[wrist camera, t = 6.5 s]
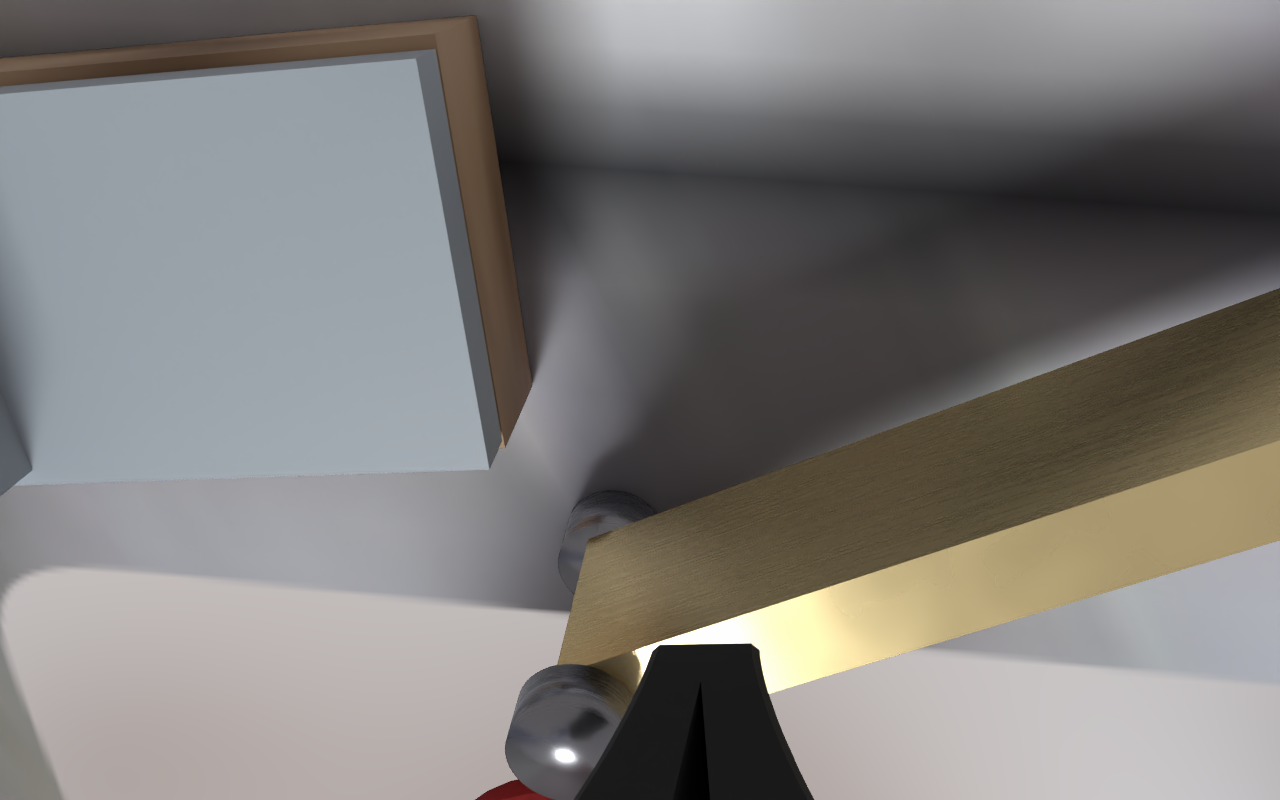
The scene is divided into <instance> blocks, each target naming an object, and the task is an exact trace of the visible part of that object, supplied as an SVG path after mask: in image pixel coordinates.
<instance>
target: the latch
mask: <svg viewBox="0 0 1280 800" xmlns="http://www.w3.org/2000/svg"><path fill="white" fill-rule="evenodd" d="M1279 540H1280V288H1279V289H1276V290H1273V291H1271V292H1268V293H1265V294H1262V295H1260V296H1257V297H1254V298H1251V299H1249V300H1246V301H1243V302H1240V303H1238V304H1235V305H1232V306H1229V307H1227V308H1224V309H1221V310H1218V311H1216V312H1213V313H1210V314H1207V315H1205V316H1202V317H1199V318H1196V319H1193V320H1191V321H1188V322H1185V323H1182V324H1180V325H1177V326H1174V327H1171V328H1169V329H1166V330H1163V331H1160V332H1158V333H1155V334H1152V335H1149V336H1147V337H1144V338H1141V339H1138V340H1136V341H1133V342H1130V343H1127V344H1125V345H1122V346H1119V347H1116V348H1114V349H1111V350H1108V351H1105V352H1103V353H1100V354H1097V355H1094V356H1091V357H1089V358H1086V359H1083V360H1080V361H1078V362H1075V363H1072V364H1069V365H1067V366H1064V367H1061V368H1058V369H1056V370H1053V371H1050V372H1047V373H1045V374H1042V375H1039V376H1036V377H1034V378H1031V379H1028V380H1025V381H1023V382H1020V383H1017V384H1014V385H1012V386H1009V387H1006V388H1003V389H1000V390H998V391H995V392H992V393H989V394H987V395H984V396H981V397H978V398H976V399H973V400H970V401H967V402H965V403H962V404H959V405H956V406H954V407H951V408H948V409H945V410H943V411H940V412H937V413H934V414H932V415H929V416H926V417H923V418H921V419H918V420H915V421H912V422H909V423H907V424H904V425H901V426H898V427H896V428H893V429H890V430H887V431H885V432H882V433H879V434H876V435H874V436H871V437H868V438H865V439H863V440H860V441H857V442H854V443H852V444H849V445H846V446H843V447H841V448H838V449H835V450H832V451H830V452H827V453H824V454H821V455H818V456H816V457H813V458H810V459H807V460H805V461H802V462H799V463H796V464H794V465H791V466H788V467H785V468H783V469H780V470H777V471H774V472H772V473H769V474H766V475H763V476H761V477H758V478H755V479H752V480H750V481H747V482H744V483H741V484H739V485H736V486H733V487H730V488H727V489H725V490H722V491H719V492H716V493H714V494H711V495H708V496H705V497H703V498H700V499H697V500H694V501H692V502H689V503H686V504H683V505H681V506H678V507H675V508H672V509H670V510H667V511H664V512H661V513H659V514H656V515H653V516H650V517H648V518H645V519H642V520H639V521H637V522H634V523H631V524H628V525H625V526H623V527H620V528H617V529H614V530H612V531H609V532H606V533H603V534H601V535H598V536H595V537H592V538H590V539H588V542H587V546H586V551H585V555H584V559H583V563H582V567H581V571H580V575H579V579H578V583H577V587H576V591H575V595H574V599H573V603H572V607H571V611H570V616H569V620H568V624H567V628H566V632H565V636H564V640H563V644H562V648H561V652H560V656H559V660H558V664H557V665H556V666H552V667H548V668H546V669H543V670H541V671H539V672H537V673H536V674H535V675H533V676H532V677H530V679H529V680H528V681H527V682H526V683H525V684H524V686H523V687H522V689H521V691H520V694H519V698H518V701H517V704H516V708H515V711H514V715H513V718H512V722H511V725H510V729H509V732H508V736H507V740H506V745H505V754H506V759H507V762H508V764H509V767H510V768H511V770H512V772H513V773H514V774H515V776H516V777H517V778H518V779H519V780H520V781H521V782H522V783H523V784H524V785H525V786H527V787H528V788H529V789H531V790H533V791H534V792H536V793H538V794H540V795H542V796H545V797H548V798H551V799H554V800H574V798H575V797H576V795H577V794H578V792H579V791H580V789H581V788H582V786H583V784H584V783H585V781H586V780H587V778H588V777H589V775H590V774H591V772H592V771H593V769H594V767H595V766H596V764H597V762H598V761H599V759H600V757H601V756H602V754H603V752H604V750H605V749H606V747H607V745H608V743H609V741H610V740H611V738H612V736H613V734H614V732H615V731H616V729H617V727H618V725H619V723H620V722H621V720H622V718H623V716H624V714H625V712H626V710H627V708H628V706H629V704H630V702H631V700H632V698H633V696H634V694H635V692H636V690H637V687H638V685H639V683H640V681H641V678H642V676H643V674H644V671H645V669H646V666H647V664H648V661H649V658H650V655H651V652H652V651H653V650H654V649H655V648H656V647H657V646H659V645H665V644H732V643H752V644H753V645H754V646H755V647H756V648H758V649H759V650H760V659H761V665H762V671H763V675H764V679H765V683H766V687H767V690H768V693H769V694H770V693H773V692H777V691H780V690H783V689H787V688H789V687H793V686H796V685H800V684H803V683H806V682H810V681H813V680H816V679H820V678H823V677H826V676H830V675H833V674H836V673H840V672H843V671H846V670H850V669H853V668H856V667H860V666H863V665H866V664H870V663H873V662H876V661H880V660H883V659H886V658H890V657H893V656H896V655H900V654H903V653H906V652H910V651H913V650H916V649H920V648H923V647H926V646H930V645H933V644H936V643H940V642H943V641H946V640H950V639H953V638H956V637H959V636H963V635H966V634H969V633H973V632H976V631H979V630H983V629H986V628H989V627H993V626H996V625H999V624H1003V623H1006V622H1009V621H1013V620H1016V619H1019V618H1023V617H1026V616H1029V615H1033V614H1036V613H1039V612H1043V611H1046V610H1049V609H1053V608H1056V607H1059V606H1063V605H1066V604H1069V603H1073V602H1076V601H1079V600H1083V599H1086V598H1089V597H1093V596H1096V595H1099V594H1103V593H1106V592H1109V591H1113V590H1116V589H1119V588H1123V587H1126V586H1129V585H1132V584H1136V583H1139V582H1142V581H1146V580H1149V579H1152V578H1156V577H1159V576H1162V575H1166V574H1169V573H1172V572H1176V571H1179V570H1182V569H1186V568H1189V567H1192V566H1196V565H1199V564H1202V563H1206V562H1209V561H1212V560H1216V559H1219V558H1222V557H1226V556H1229V555H1232V554H1236V553H1239V552H1242V551H1246V550H1249V549H1252V548H1256V547H1259V546H1262V545H1266V544H1269V543H1272V542H1276V541H1279Z"/></svg>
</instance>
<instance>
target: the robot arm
mask: <svg viewBox="0 0 1280 800" xmlns="http://www.w3.org/2000/svg"><path fill="white" fill-rule="evenodd" d="M574 800H814V799H813V797H812V795H811V793H810V791H809V789H808V787H807V785H806V783H805V781H804V779H803V777H802V775H801V773H800V771H799V769H798V766H797V764H796V762H795V760H794V757H793V755H792V753H791V750H790V748H789V746H788V744H787V741H786V739H785V737H784V735H783V732H782V730H781V727H780V725H779V722H778V720H777V717H776V714H775V711H774V708H773V705H772V702H771V700H770V697H769V693H768V690H767V687H766V683H765V679H764V675H763V671H762V665H761V659H760V650H759V649H758V648H756V647H755V646H754V645H753V644H752V643H732V644H665V645H659V646H657V647H656V648H655V649H654V650H653V651H652V652H651V655H650V658H649V661H648V664H647V666H646V669H645V671H644V674H643V676H642V678H641V681H640V683H639V685H638V687H637V690H636V692H635V694H634V696H633V698H632V700H631V702H630V704H629V706H628V708H627V710H626V712H625V714H624V716H623V718H622V720H621V722H620V723H619V725H618V727H617V729H616V731H615V732H614V734H613V736H612V738H611V740H610V741H609V743H608V745H607V747H606V749H605V750H604V752H603V754H602V756H601V757H600V759H599V761H598V762H597V764H596V766H595V767H594V769H593V771H592V772H591V774H590V775H589V777H588V778H587V780H586V781H585V783H584V784H583V786H582V788H581V789H580V791H579V792H578V794H577V795H576V797H575V798H574Z"/></svg>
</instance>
